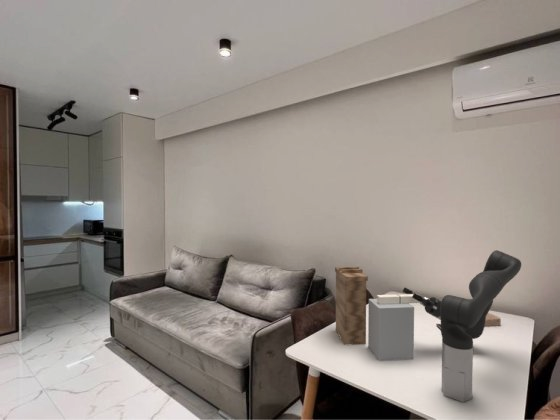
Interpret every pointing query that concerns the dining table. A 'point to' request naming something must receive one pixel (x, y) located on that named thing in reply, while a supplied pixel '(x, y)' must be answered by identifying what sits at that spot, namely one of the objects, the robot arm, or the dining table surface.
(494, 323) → the brick
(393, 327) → the grey step block
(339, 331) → the walnut shelf
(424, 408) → the dining table surface
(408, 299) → the domino bar
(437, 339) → the dining table surface
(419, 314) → the dining table surface
